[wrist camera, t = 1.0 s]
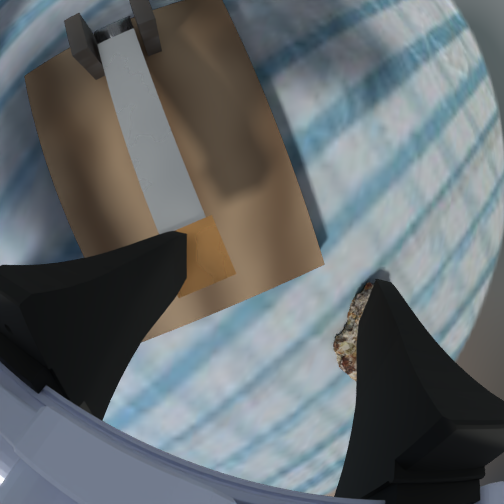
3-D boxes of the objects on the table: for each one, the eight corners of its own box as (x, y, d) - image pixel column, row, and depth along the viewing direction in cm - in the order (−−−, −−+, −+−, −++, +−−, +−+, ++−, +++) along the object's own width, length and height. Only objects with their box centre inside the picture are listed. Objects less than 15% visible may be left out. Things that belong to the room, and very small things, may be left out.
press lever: (182, 291, 16) (178, 298, 14) (96, 43, 14) (88, 29, 13) (234, 269, 16) (236, 273, 14) (137, 25, 15) (132, 9, 13)
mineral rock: (406, 369, 28) (355, 404, 25) (378, 355, 32) (327, 384, 28) (418, 276, 26) (364, 301, 22) (385, 267, 29) (328, 287, 26)
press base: (136, 333, 23) (122, 384, 17) (34, 82, 17) (-9, 57, 10) (314, 257, 25) (356, 286, 18) (215, 4, 18) (226, -46, 11)
